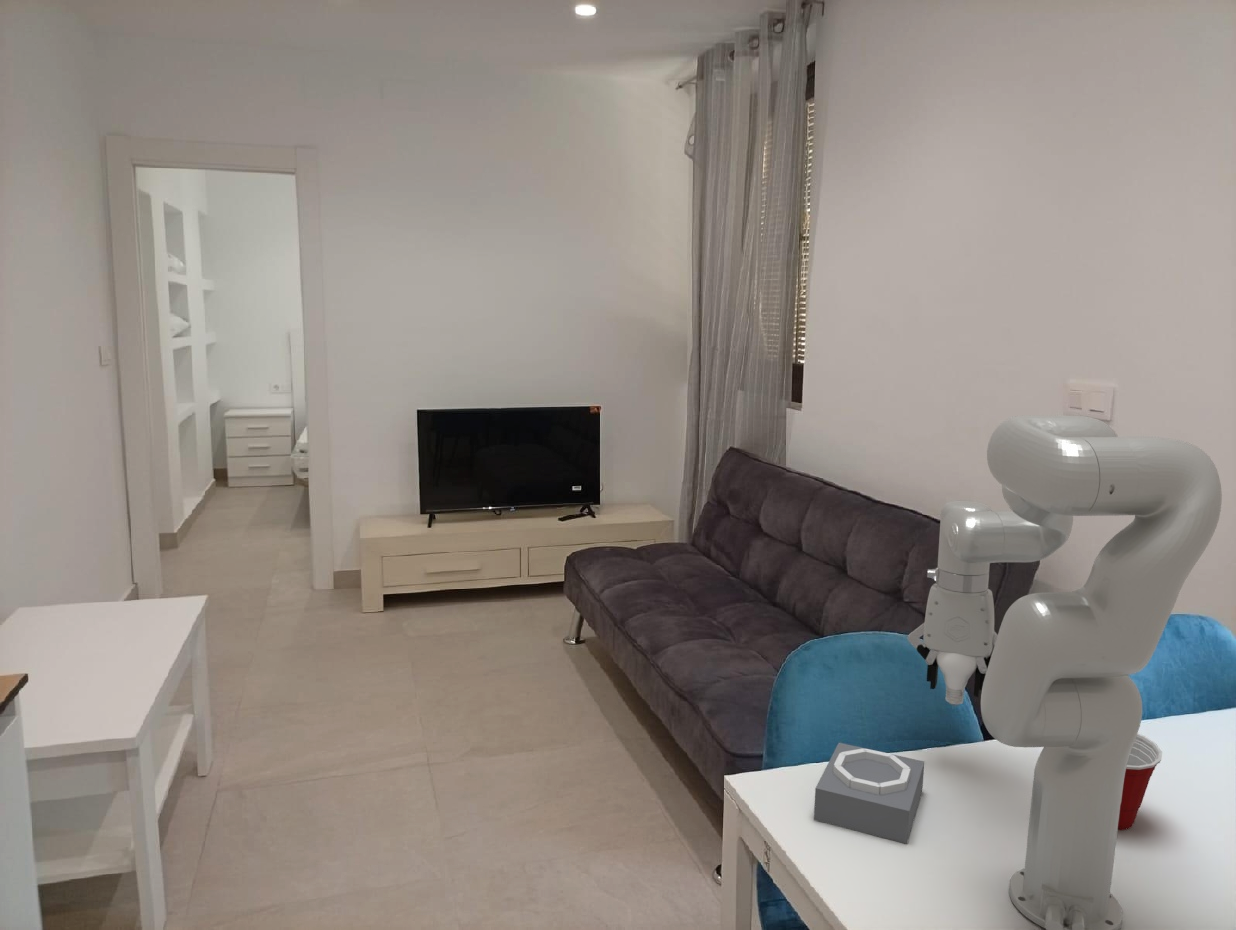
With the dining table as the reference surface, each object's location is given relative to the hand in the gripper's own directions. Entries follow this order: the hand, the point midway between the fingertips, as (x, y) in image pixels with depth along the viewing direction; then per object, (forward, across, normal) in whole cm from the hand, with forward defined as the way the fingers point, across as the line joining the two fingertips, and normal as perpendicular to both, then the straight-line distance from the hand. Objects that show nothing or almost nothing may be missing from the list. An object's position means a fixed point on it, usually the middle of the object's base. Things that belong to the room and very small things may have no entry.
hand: (955, 688), depth 142 cm
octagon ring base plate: (+14, -9, -16) cm, 23 cm away
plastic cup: (+14, +22, -5) cm, 27 cm away
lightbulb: (+3, 0, 0) cm, 3 cm away
